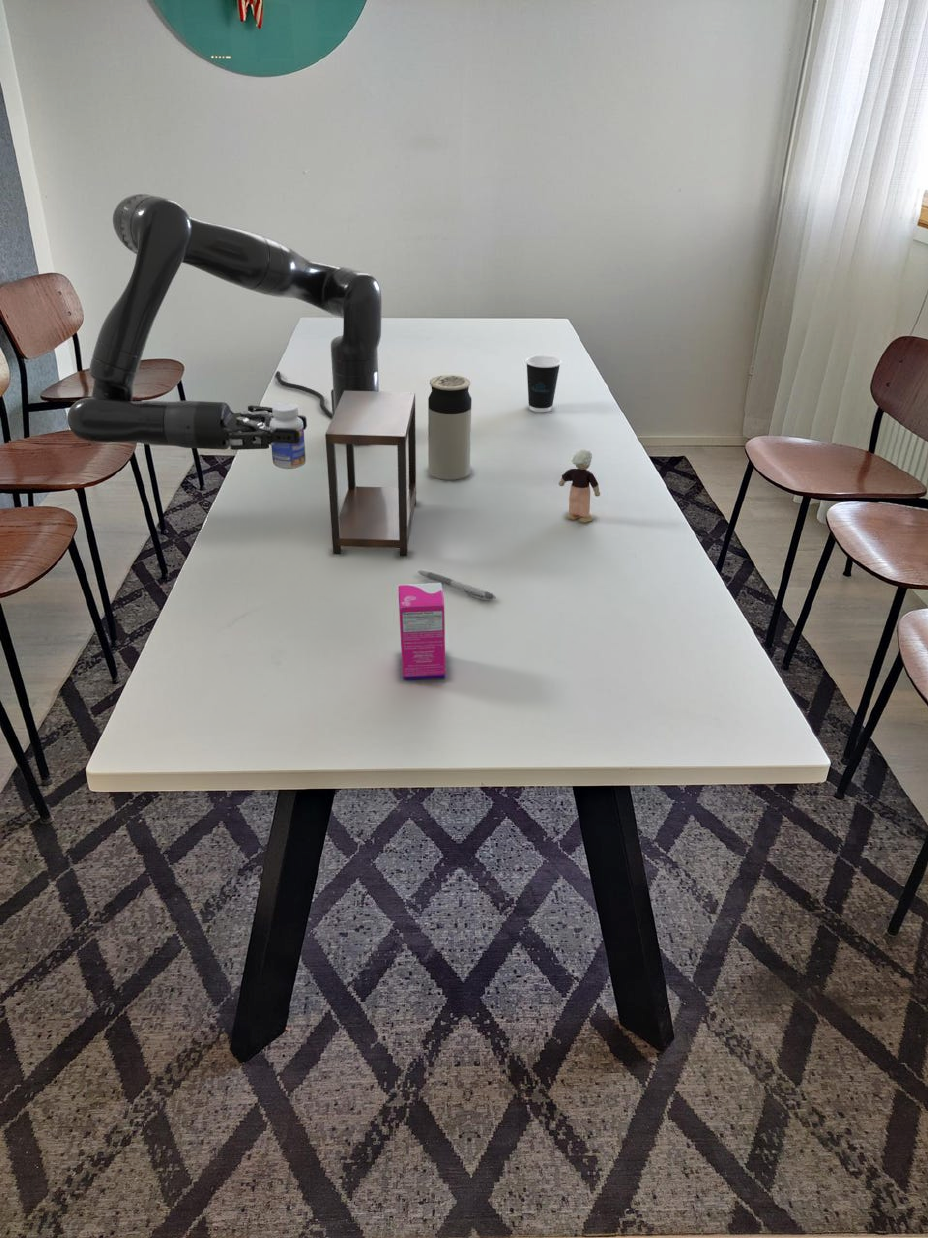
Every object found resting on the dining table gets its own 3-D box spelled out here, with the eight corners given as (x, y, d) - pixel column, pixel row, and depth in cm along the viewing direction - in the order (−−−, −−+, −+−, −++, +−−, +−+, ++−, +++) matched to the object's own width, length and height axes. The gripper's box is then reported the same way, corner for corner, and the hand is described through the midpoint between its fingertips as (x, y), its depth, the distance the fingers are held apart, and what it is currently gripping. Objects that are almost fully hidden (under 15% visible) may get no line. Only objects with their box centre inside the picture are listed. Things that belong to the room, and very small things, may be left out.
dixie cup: (532, 416, 203) (535, 367, 197) (516, 405, 209) (519, 357, 203) (563, 412, 205) (567, 363, 199) (547, 401, 211) (551, 353, 205)
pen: (493, 604, 136) (493, 595, 135) (416, 577, 142) (416, 569, 141) (496, 601, 136) (497, 593, 135) (419, 575, 142) (419, 567, 142)
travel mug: (476, 469, 177) (478, 378, 168) (459, 484, 171) (460, 390, 162) (439, 461, 180) (440, 371, 170) (421, 476, 174) (420, 383, 164)
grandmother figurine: (600, 516, 161) (608, 448, 154) (596, 525, 158) (603, 457, 151) (558, 509, 163) (563, 442, 156) (553, 518, 160) (558, 450, 153)
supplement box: (399, 655, 124) (398, 582, 118) (443, 654, 124) (444, 581, 118) (401, 681, 119) (399, 606, 113) (446, 679, 119) (447, 605, 113)
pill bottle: (299, 471, 148) (295, 414, 143) (267, 467, 149) (262, 410, 144) (310, 458, 152) (307, 402, 147) (280, 455, 153) (275, 399, 148)
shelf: (333, 554, 147) (325, 434, 136) (349, 501, 164) (344, 390, 153) (407, 556, 147) (405, 436, 136) (416, 503, 164) (415, 392, 153)
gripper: (182, 418, 140) (292, 422, 139) (208, 387, 152) (309, 392, 151) (189, 464, 144) (296, 468, 143) (213, 430, 156) (312, 435, 155)
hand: (302, 429), depth 147 cm, fingers closed on pill bottle, 5 cm apart
